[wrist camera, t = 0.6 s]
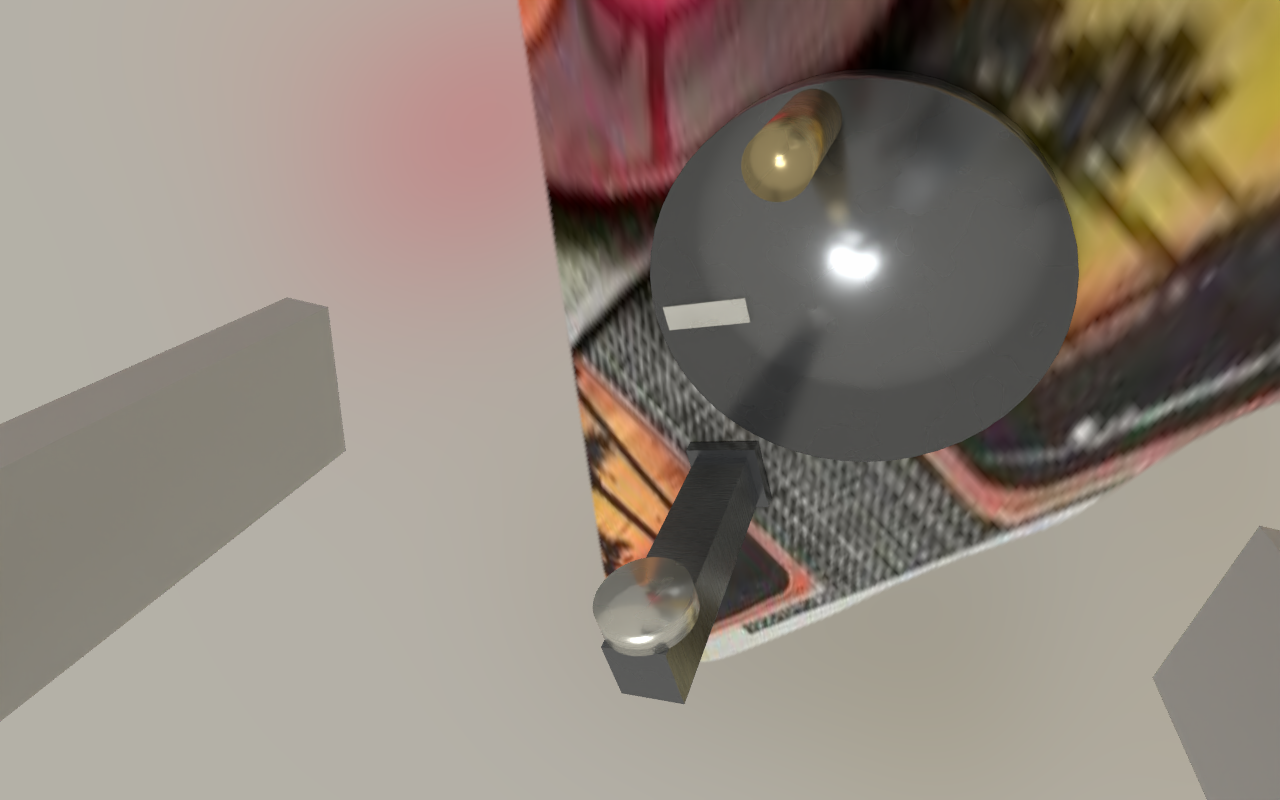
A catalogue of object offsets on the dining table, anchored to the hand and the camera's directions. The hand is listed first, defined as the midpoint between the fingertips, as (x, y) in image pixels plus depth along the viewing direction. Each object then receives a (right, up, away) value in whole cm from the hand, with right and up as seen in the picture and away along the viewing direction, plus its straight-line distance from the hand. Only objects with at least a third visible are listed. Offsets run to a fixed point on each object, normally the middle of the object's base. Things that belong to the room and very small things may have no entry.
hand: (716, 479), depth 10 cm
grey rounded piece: (+8, +7, +21) cm, 23 cm away
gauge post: (+4, -3, +29) cm, 30 cm away
